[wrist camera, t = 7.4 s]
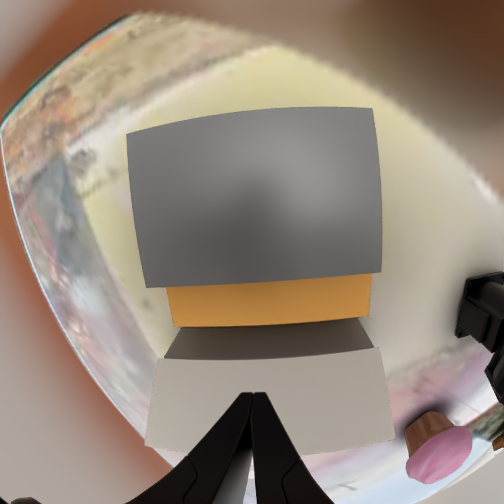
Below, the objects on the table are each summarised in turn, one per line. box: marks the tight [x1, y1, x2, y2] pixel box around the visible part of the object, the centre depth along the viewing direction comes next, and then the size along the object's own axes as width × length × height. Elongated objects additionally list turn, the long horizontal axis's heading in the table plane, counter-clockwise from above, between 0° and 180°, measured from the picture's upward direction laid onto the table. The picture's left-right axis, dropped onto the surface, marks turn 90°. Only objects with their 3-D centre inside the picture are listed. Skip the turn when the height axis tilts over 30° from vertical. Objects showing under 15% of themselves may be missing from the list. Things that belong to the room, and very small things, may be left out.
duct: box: [126, 107, 382, 360], centre depth 19 cm, size 15×22×4 cm, turn 5°
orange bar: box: [166, 273, 371, 327], centre depth 19 cm, size 14×4×4 cm
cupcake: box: [405, 411, 472, 484], centre depth 19 cm, size 9×9×10 cm
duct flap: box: [145, 347, 395, 457], centre depth 14 cm, size 15×6×1 cm
